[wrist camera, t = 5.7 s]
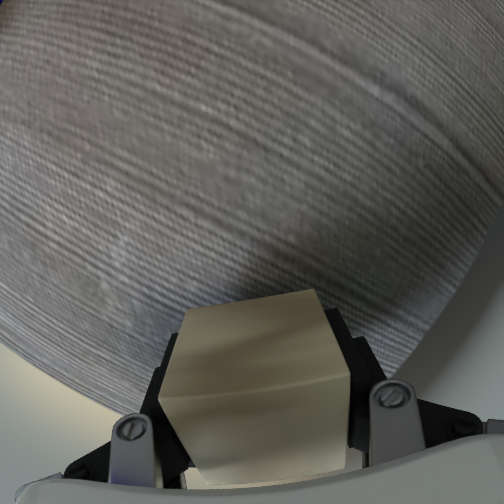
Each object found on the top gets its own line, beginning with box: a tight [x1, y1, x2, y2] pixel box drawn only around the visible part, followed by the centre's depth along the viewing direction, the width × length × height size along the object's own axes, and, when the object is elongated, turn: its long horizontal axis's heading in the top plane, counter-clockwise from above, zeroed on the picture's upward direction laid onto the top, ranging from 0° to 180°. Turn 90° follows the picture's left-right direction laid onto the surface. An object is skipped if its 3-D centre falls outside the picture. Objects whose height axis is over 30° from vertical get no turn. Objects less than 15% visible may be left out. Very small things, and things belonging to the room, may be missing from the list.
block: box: [158, 289, 350, 485], centre depth 9 cm, size 5×5×5 cm
